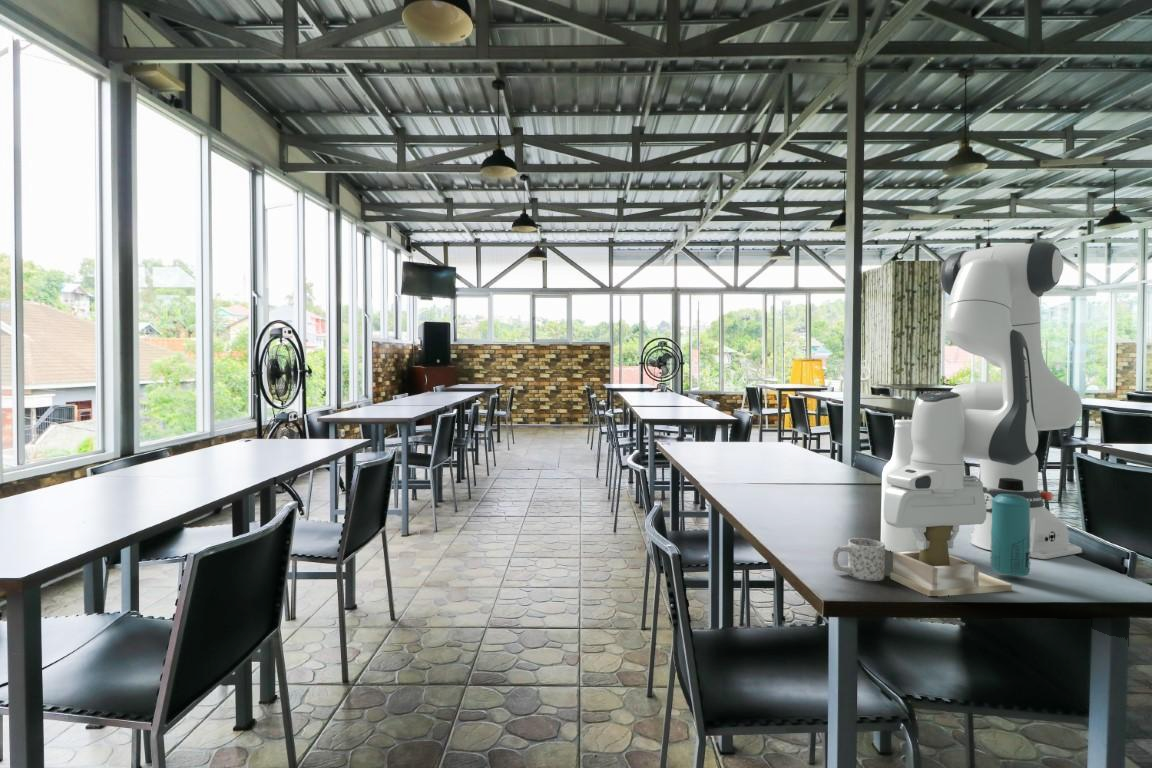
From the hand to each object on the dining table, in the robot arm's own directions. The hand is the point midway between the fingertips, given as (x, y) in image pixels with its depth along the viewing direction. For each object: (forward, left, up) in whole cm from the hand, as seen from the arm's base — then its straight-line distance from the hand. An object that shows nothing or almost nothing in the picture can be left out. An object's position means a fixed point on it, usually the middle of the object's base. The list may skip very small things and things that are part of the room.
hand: (934, 548), depth 116 cm
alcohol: (-12, -22, -7) cm, 26 cm away
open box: (-4, 0, -7) cm, 8 cm away
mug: (+11, -8, -8) cm, 15 cm away
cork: (0, 0, -6) cm, 6 cm away
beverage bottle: (-19, -1, -7) cm, 20 cm away
